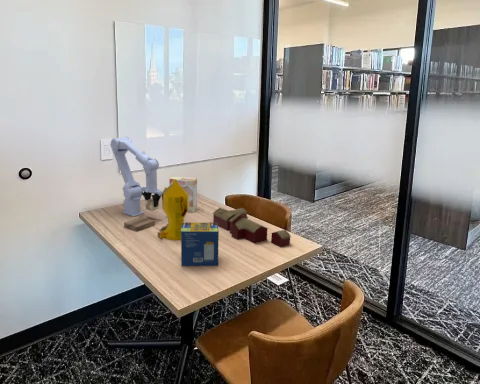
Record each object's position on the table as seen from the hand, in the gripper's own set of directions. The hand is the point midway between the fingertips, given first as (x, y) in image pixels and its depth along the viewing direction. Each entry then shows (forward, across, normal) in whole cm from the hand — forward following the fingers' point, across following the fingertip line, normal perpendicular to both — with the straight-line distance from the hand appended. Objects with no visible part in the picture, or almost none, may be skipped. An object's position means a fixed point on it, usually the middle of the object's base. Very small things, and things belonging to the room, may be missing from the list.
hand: (152, 205), depth 201 cm
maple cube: (+2, 0, 0) cm, 2 cm away
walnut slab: (+8, +3, -12) cm, 15 cm away
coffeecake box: (+8, +2, +23) cm, 24 cm away
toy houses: (+8, +54, +15) cm, 57 cm away
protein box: (+8, +54, -24) cm, 60 cm away
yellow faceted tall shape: (+8, +25, -9) cm, 28 cm away
